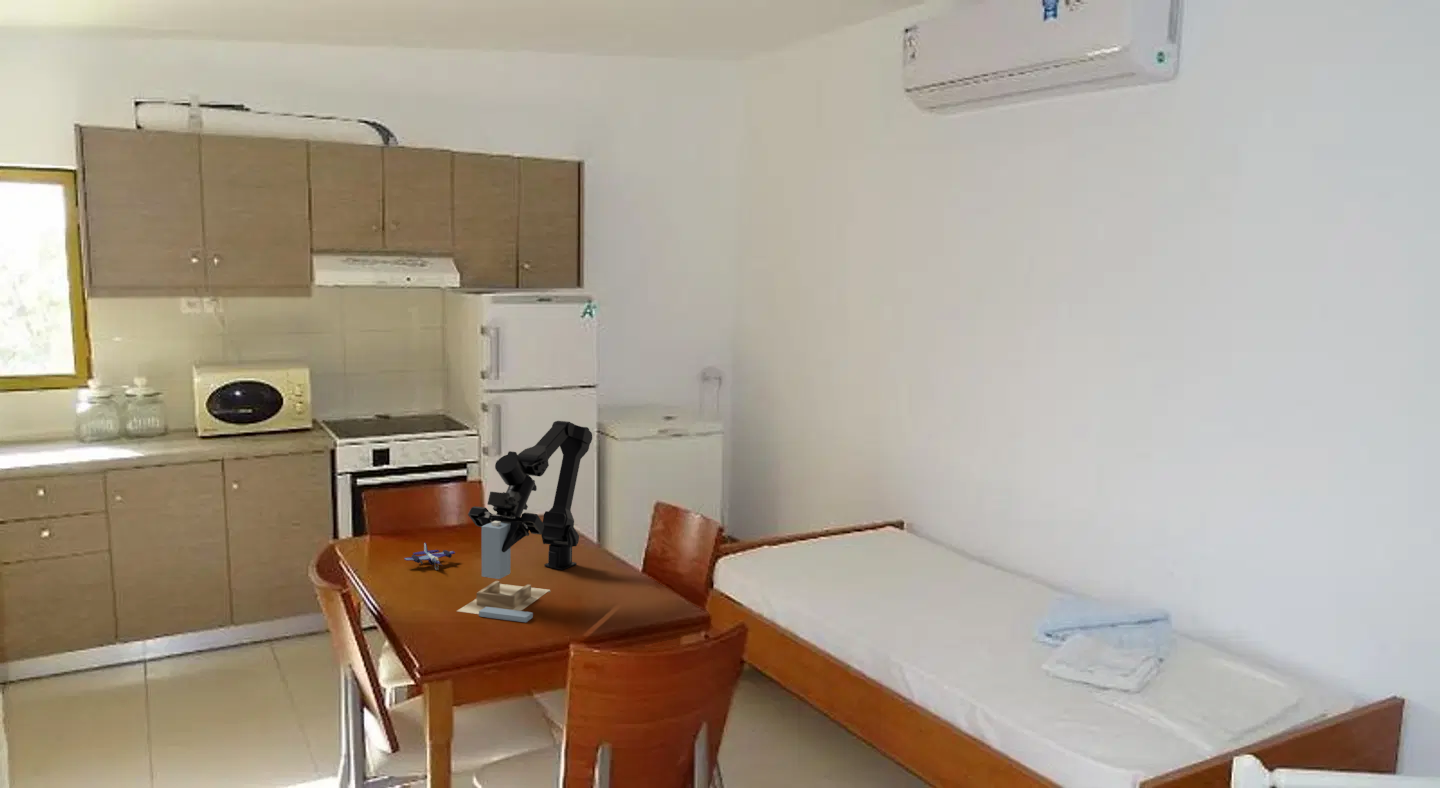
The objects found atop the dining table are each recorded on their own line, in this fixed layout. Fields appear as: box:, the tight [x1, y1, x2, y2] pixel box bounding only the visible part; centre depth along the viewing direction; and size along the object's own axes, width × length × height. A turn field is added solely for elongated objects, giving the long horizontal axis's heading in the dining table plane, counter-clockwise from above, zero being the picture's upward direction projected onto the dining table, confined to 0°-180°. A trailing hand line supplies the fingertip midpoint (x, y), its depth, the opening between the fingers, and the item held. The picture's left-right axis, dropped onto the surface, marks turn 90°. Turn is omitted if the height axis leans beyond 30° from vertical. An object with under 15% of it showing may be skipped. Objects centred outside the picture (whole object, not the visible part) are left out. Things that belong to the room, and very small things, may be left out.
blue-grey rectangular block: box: [481, 521, 512, 580], centre depth 251 cm, size 5×5×13 cm
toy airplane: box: [404, 542, 456, 571], centre depth 280 cm, size 13×14×4 cm
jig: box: [456, 580, 551, 615], centre depth 252 cm, size 22×14×4 cm, turn 165°
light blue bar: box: [478, 607, 534, 623], centre depth 240 cm, size 12×4×1 cm, turn 75°
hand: (493, 550), depth 250 cm, fingers closed on blue-grey rectangular block, 5 cm apart
